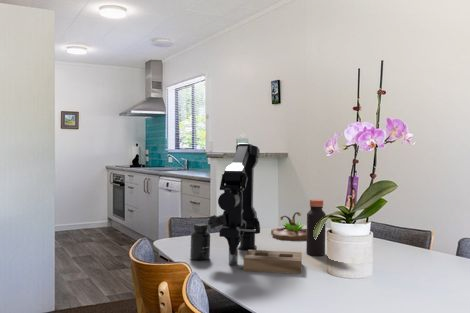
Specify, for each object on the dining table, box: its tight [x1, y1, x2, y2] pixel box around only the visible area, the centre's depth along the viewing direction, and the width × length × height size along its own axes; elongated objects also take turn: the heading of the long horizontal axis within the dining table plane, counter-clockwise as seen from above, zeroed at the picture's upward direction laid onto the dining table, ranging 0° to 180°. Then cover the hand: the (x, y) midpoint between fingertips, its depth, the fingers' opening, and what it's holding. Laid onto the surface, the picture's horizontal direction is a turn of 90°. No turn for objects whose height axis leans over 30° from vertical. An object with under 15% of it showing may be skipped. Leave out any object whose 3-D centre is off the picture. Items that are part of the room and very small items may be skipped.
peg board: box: [243, 249, 303, 275], centre depth 145 cm, size 12×18×4 cm, turn 81°
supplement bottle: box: [190, 223, 211, 262], centre depth 155 cm, size 7×7×12 cm
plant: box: [270, 211, 307, 242], centre depth 199 cm, size 20×20×11 cm
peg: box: [228, 245, 239, 266], centre depth 148 cm, size 3×3×10 cm
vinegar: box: [305, 199, 327, 257], centre depth 164 cm, size 7×7×20 cm
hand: (233, 253), depth 148 cm, fingers closed on peg, 3 cm apart
